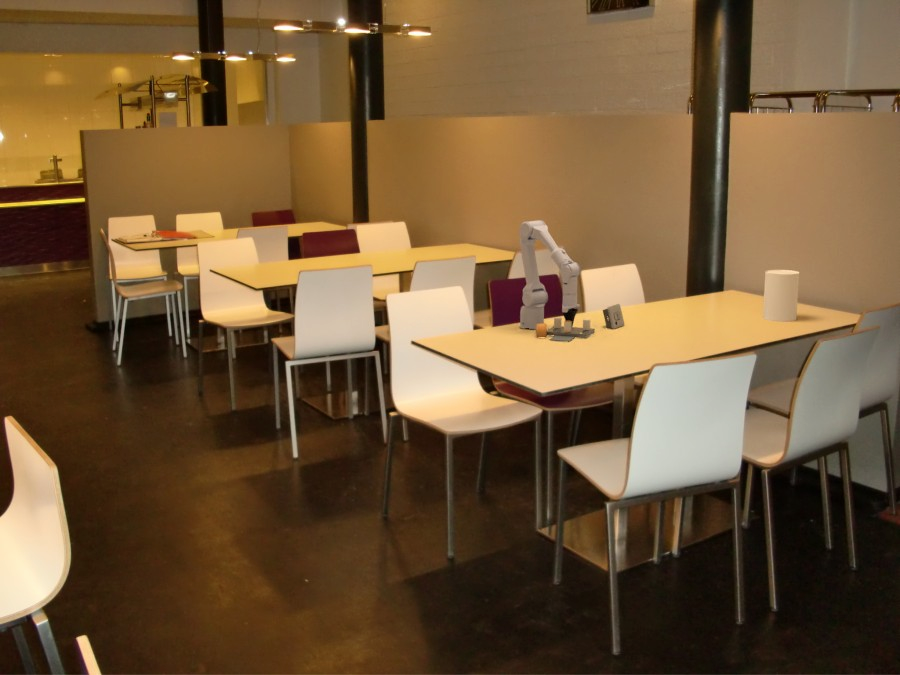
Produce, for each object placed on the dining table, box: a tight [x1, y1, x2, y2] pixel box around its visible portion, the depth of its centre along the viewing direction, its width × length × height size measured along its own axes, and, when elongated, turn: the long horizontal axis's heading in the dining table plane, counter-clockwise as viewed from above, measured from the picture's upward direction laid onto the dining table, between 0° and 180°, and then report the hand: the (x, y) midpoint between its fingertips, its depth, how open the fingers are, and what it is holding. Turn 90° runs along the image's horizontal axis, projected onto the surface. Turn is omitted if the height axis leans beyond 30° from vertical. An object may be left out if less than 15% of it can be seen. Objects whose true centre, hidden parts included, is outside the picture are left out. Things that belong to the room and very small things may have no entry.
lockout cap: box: [535, 323, 548, 338], centre depth 362 cm, size 4×4×5 cm
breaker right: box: [582, 318, 591, 330], centre depth 366 cm, size 2×2×4 cm
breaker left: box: [553, 316, 563, 328], centre depth 371 cm, size 2×2×4 cm
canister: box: [762, 269, 800, 323], centre depth 388 cm, size 14×14×20 cm
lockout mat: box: [548, 335, 576, 343], centre depth 357 cm, size 8×8×1 cm
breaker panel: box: [547, 325, 596, 339], centre depth 366 cm, size 17×12×2 cm
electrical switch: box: [602, 303, 625, 330], centre depth 378 cm, size 9×5×9 cm, turn 141°
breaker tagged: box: [563, 320, 573, 332], centre depth 363 cm, size 2×2×4 cm
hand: (569, 327), depth 365 cm, fingers closed
